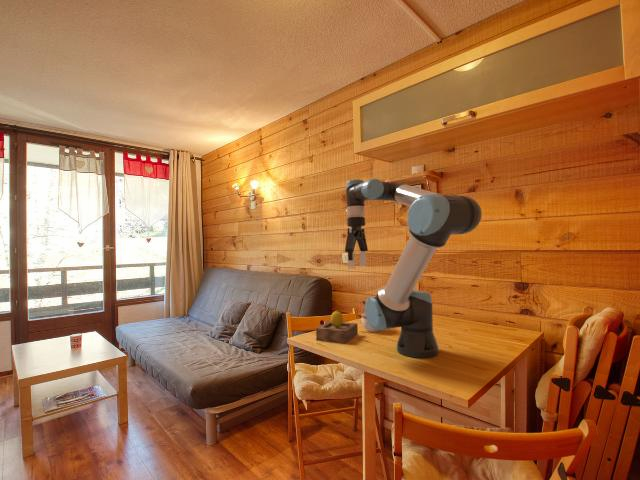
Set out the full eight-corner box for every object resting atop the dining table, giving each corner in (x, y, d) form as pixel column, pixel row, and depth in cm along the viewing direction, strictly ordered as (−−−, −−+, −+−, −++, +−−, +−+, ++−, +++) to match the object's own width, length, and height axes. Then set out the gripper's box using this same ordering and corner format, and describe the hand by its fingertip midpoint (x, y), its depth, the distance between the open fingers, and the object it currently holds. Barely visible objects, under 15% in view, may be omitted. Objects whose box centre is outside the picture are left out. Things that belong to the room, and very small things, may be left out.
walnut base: (357, 334, 149) (357, 323, 149) (346, 343, 137) (345, 331, 137) (330, 331, 155) (329, 320, 155) (316, 339, 143) (316, 328, 143)
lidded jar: (384, 333, 150) (384, 313, 150) (361, 333, 152) (360, 313, 152) (384, 327, 161) (383, 308, 161) (362, 327, 162) (361, 308, 162)
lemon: (328, 328, 146) (327, 310, 146) (337, 326, 150) (337, 308, 150) (336, 330, 142) (336, 312, 142) (346, 328, 146) (345, 310, 146)
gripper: (358, 219, 151) (359, 265, 150) (335, 215, 128) (337, 269, 128) (373, 218, 147) (375, 265, 147) (353, 214, 125) (355, 269, 125)
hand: (357, 267), depth 137 cm, fingers open, 13 cm apart
